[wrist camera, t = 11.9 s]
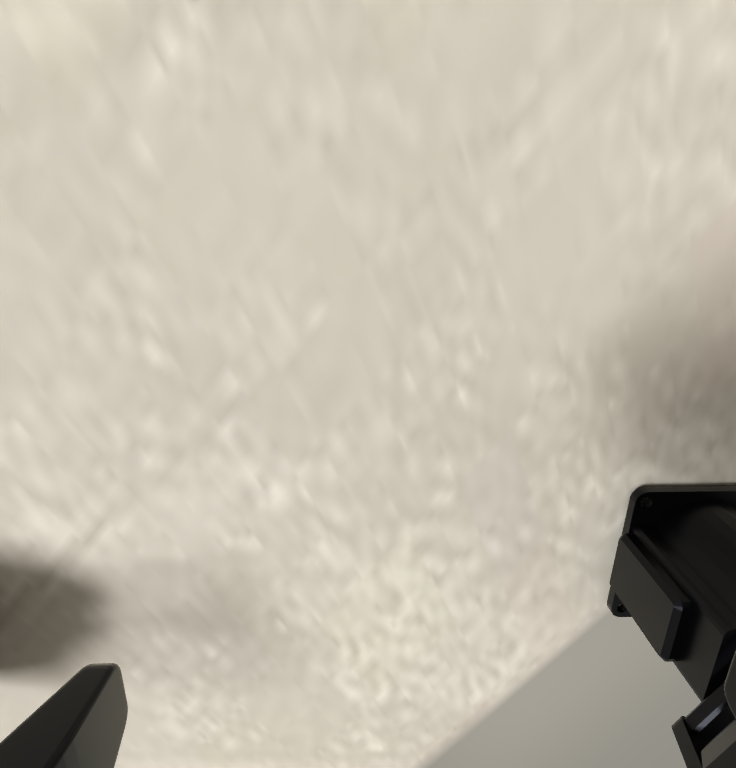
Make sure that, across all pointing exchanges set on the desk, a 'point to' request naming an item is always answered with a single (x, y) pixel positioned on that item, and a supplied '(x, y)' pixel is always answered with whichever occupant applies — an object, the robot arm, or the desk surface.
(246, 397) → the desk surface
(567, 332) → the desk surface
